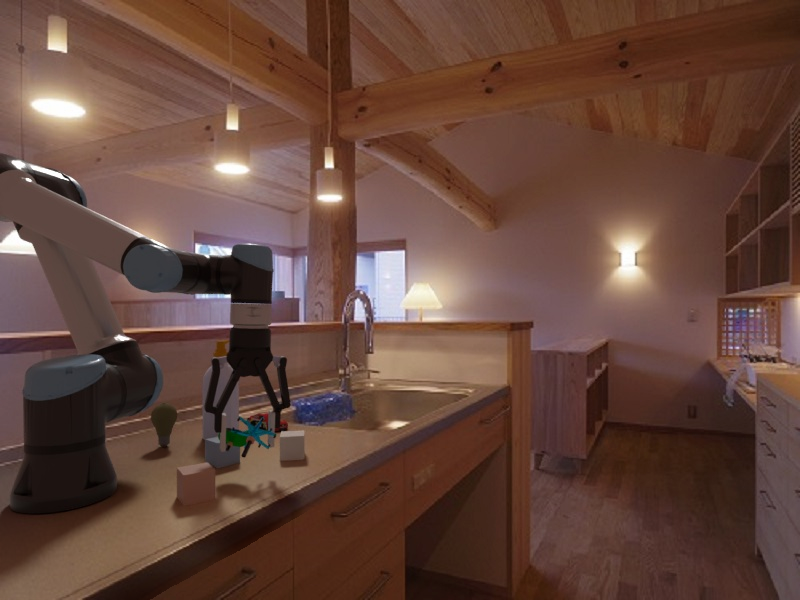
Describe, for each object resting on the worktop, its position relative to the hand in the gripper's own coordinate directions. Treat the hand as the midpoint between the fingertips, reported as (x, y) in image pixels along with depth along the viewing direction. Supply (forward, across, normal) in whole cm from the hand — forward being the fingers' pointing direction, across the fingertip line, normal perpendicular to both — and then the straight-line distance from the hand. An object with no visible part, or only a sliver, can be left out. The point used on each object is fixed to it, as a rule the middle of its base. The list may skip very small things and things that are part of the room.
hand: (247, 447), depth 97 cm
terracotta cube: (+6, -9, -8) cm, 13 cm away
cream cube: (+5, +11, +10) cm, 15 cm away
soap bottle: (+6, -1, +34) cm, 35 cm away
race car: (+6, +11, +39) cm, 41 cm away
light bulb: (+7, -14, +30) cm, 34 cm away
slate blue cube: (+6, -3, +12) cm, 13 cm away
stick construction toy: (+1, -1, -1) cm, 2 cm away
